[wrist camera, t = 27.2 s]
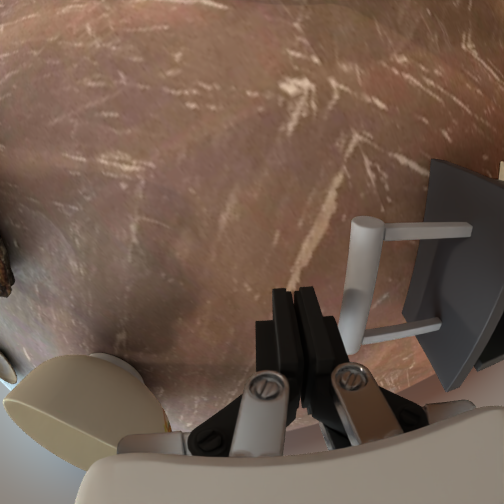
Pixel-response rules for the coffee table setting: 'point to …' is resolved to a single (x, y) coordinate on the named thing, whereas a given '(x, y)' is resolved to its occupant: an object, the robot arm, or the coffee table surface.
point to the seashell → (7, 370)
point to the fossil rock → (5, 272)
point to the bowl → (84, 406)
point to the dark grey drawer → (438, 275)
